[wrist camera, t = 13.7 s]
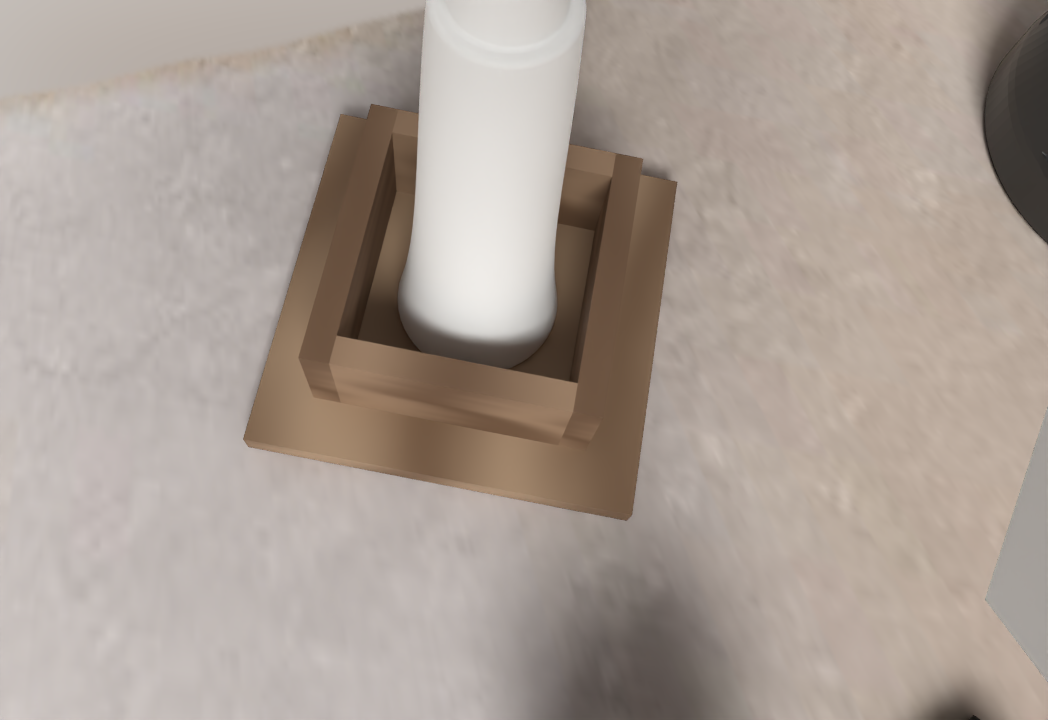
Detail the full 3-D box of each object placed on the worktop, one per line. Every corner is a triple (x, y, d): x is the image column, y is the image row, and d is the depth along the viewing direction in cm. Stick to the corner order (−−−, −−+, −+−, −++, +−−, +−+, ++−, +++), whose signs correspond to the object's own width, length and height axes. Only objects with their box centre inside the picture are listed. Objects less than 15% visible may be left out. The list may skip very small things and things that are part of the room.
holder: (671, 194, 39) (702, 124, 35) (626, 520, 34) (656, 489, 30) (343, 128, 39) (330, 48, 34) (248, 446, 34) (218, 403, 29)
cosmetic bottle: (450, 404, 34) (469, -66, 14) (368, 274, 36) (277, -322, 15) (586, 327, 36) (788, -198, 15) (502, 206, 37) (583, -419, 17)
